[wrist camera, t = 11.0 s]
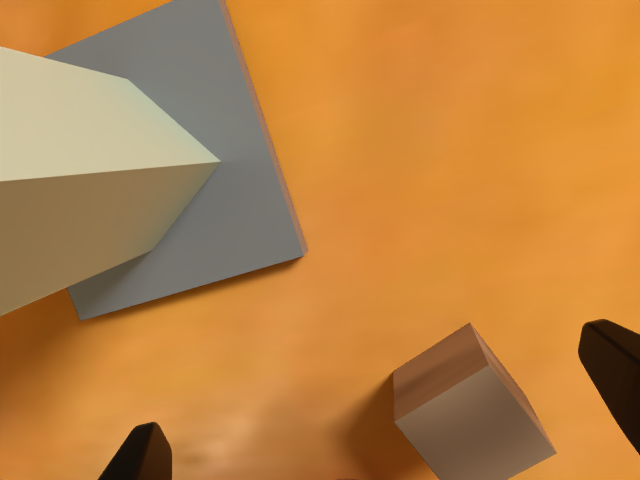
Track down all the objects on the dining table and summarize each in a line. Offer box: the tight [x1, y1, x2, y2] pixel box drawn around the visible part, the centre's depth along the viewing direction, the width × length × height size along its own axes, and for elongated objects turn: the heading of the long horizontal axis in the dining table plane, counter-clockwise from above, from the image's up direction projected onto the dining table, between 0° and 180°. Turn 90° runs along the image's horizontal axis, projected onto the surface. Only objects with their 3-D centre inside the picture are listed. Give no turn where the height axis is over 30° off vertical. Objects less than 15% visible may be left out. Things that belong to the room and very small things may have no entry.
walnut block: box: [393, 323, 556, 480], centre depth 18 cm, size 4×4×4 cm
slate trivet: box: [43, 0, 308, 321], centre depth 20 cm, size 11×11×1 cm
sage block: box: [0, 47, 221, 316], centre depth 13 cm, size 5×5×13 cm
